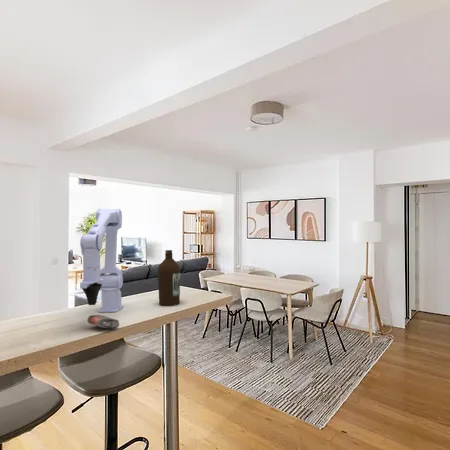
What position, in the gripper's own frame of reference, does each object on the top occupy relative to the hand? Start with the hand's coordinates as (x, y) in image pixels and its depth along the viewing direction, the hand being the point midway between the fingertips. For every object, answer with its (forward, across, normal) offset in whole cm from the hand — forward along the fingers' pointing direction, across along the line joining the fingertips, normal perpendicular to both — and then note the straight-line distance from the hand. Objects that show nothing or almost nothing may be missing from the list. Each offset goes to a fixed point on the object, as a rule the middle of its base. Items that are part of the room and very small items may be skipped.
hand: (92, 304), depth 115 cm
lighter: (+6, +2, -1) cm, 6 cm away
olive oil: (+8, +33, -22) cm, 41 cm away
